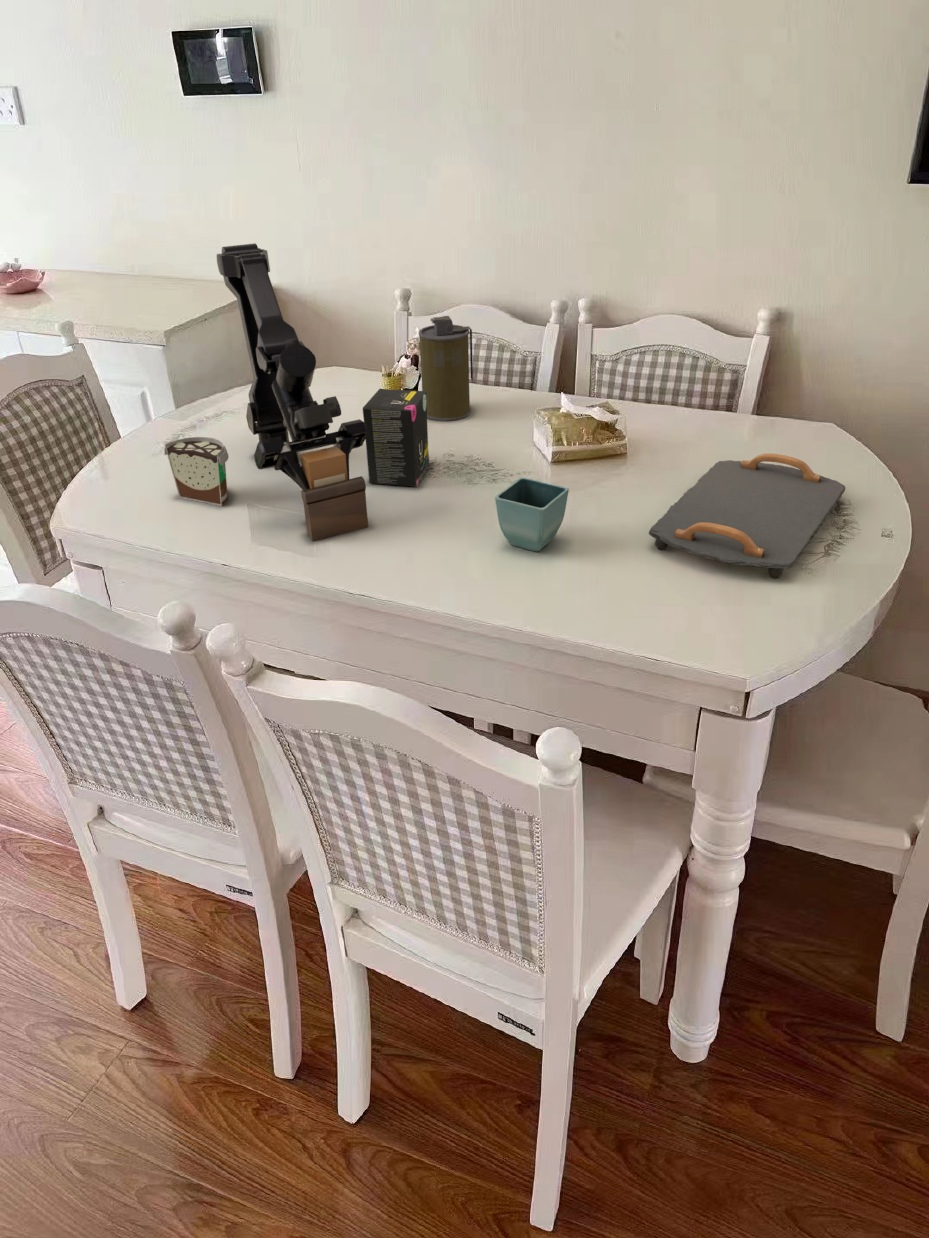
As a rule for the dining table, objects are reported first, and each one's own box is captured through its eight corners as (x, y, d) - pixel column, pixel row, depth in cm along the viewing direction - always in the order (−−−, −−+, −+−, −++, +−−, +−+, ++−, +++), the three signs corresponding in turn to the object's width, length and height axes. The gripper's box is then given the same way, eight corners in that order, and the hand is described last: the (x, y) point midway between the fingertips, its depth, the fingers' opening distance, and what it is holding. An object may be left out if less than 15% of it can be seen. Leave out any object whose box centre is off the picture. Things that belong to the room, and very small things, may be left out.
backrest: (306, 536, 159) (300, 488, 155) (363, 521, 163) (359, 474, 159) (311, 541, 158) (305, 493, 153) (369, 526, 162) (365, 479, 157)
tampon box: (417, 488, 174) (412, 410, 166) (367, 484, 176) (361, 407, 168) (431, 464, 183) (427, 389, 176) (384, 461, 185) (378, 387, 177)
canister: (426, 423, 202) (422, 327, 191) (418, 406, 210) (414, 313, 200) (477, 418, 203) (476, 322, 193) (467, 402, 212) (465, 309, 201)
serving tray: (783, 592, 140) (789, 554, 137) (635, 554, 151) (638, 519, 148) (849, 493, 168) (856, 460, 165) (721, 468, 179) (725, 436, 175)
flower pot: (542, 561, 150) (543, 509, 145) (493, 548, 154) (493, 496, 149) (568, 538, 156) (570, 487, 152) (520, 526, 160) (521, 476, 156)
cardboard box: (307, 523, 163) (299, 454, 157) (342, 514, 166) (336, 446, 159) (316, 532, 160) (308, 462, 154) (352, 523, 163) (345, 454, 156)
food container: (249, 493, 174) (241, 441, 169) (228, 507, 169) (219, 454, 164) (194, 483, 178) (184, 432, 173) (172, 496, 174) (162, 444, 168)
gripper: (249, 392, 150) (283, 483, 148) (359, 372, 157) (393, 457, 155) (241, 425, 160) (272, 510, 158) (344, 404, 167) (376, 485, 165)
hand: (329, 490), depth 159 cm, fingers closed on cardboard box, 6 cm apart
